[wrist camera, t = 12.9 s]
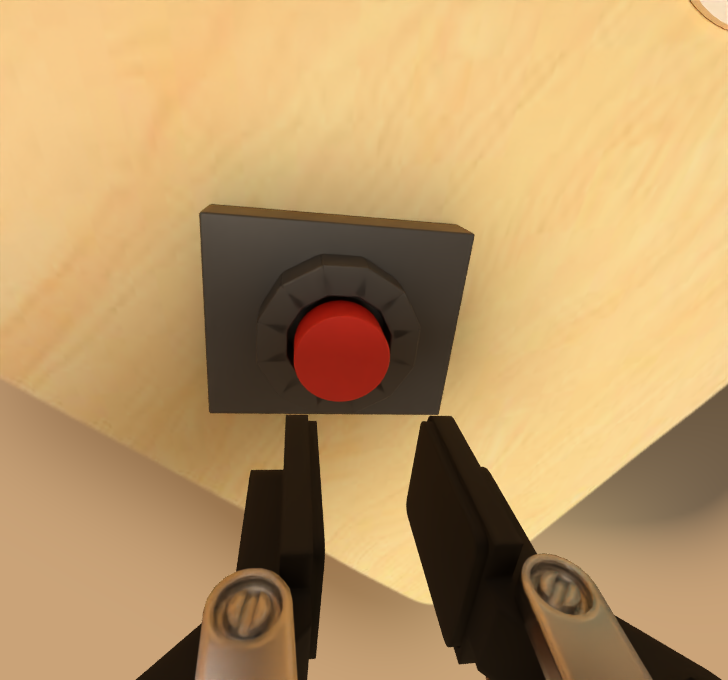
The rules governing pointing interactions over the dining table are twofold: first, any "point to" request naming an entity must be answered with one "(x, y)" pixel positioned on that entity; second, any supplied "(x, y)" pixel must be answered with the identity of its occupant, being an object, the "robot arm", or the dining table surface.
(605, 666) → the robot arm
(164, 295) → the dining table surface
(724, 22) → the panda figurine
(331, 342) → the stop button
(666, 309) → the dining table surface
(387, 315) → the push button box
